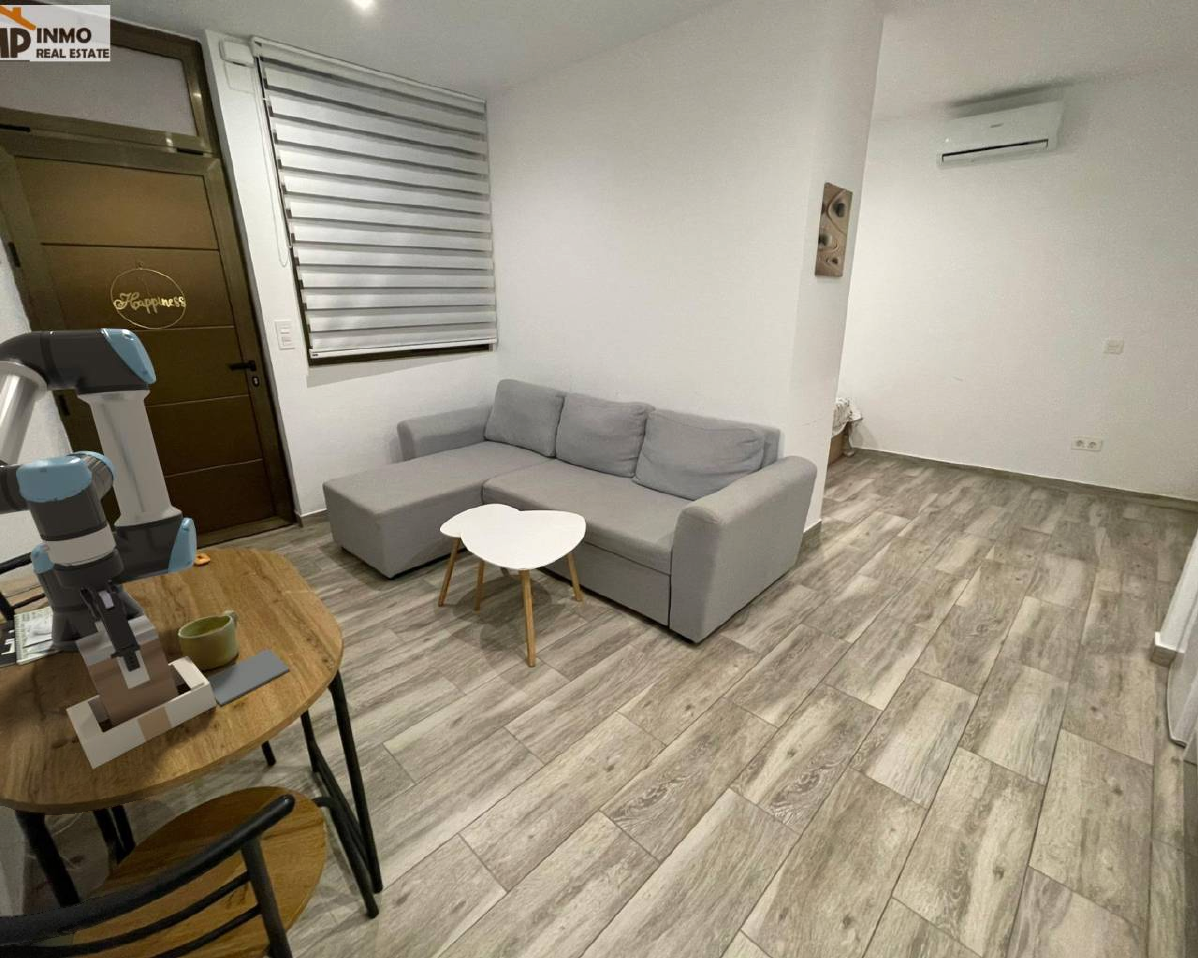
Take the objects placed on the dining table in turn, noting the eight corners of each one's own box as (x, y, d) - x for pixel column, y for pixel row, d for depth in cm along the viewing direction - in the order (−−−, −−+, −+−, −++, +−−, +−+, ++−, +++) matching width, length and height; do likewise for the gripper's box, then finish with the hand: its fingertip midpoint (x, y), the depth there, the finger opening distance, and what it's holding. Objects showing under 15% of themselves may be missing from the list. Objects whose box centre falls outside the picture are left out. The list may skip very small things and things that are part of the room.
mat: (202, 682, 102) (201, 680, 102) (268, 649, 111) (268, 648, 110) (221, 705, 96) (220, 704, 96) (289, 669, 105) (289, 668, 105)
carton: (76, 731, 91) (65, 707, 89) (194, 676, 103) (186, 653, 101) (92, 769, 83) (81, 743, 82) (217, 704, 96) (209, 681, 94)
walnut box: (111, 725, 92) (75, 640, 85) (174, 695, 98) (145, 614, 92) (120, 743, 88) (83, 656, 82) (185, 710, 95) (155, 627, 89)
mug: (212, 674, 101) (196, 625, 100) (175, 680, 104) (159, 633, 103) (267, 645, 113) (253, 602, 112) (233, 651, 116) (218, 609, 115)
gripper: (38, 542, 86) (82, 649, 94) (68, 591, 72) (118, 713, 79) (98, 526, 92) (135, 628, 99) (137, 569, 77) (178, 685, 85)
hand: (128, 666), depth 89 cm, fingers open, 13 cm apart
